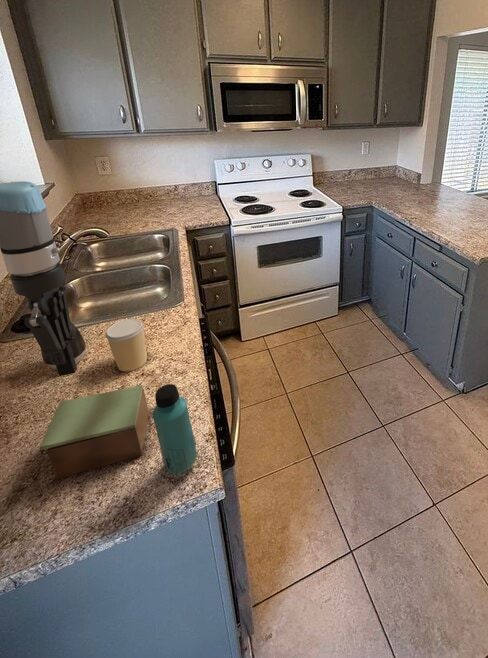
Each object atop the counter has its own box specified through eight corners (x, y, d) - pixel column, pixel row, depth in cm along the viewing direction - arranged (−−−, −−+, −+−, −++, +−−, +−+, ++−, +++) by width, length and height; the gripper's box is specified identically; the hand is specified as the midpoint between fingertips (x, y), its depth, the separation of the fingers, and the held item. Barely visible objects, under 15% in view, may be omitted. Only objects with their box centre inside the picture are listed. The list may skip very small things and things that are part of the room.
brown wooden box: (57, 478, 72) (46, 450, 69) (75, 431, 82) (66, 405, 80) (142, 455, 77) (135, 428, 74) (149, 412, 87) (143, 387, 84)
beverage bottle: (204, 453, 77) (191, 380, 70) (186, 484, 71) (170, 407, 64) (177, 447, 78) (162, 374, 71) (157, 477, 72) (139, 400, 65)
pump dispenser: (43, 362, 104) (28, 318, 99) (84, 346, 111) (72, 304, 106) (48, 381, 97) (32, 334, 92) (92, 363, 104) (79, 318, 99)
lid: (40, 450, 69) (39, 447, 69) (60, 404, 79) (60, 401, 79) (135, 427, 74) (134, 424, 74) (143, 387, 84) (142, 384, 84)
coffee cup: (152, 348, 109) (145, 315, 105) (147, 369, 101) (139, 333, 97) (118, 355, 107) (109, 321, 103) (110, 377, 98) (101, 340, 94)
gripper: (46, 280, 60) (79, 391, 68) (71, 251, 71) (97, 348, 79) (-9, 288, 58) (32, 401, 66) (26, 256, 69) (58, 355, 77)
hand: (68, 372), depth 72 cm, fingers closed
